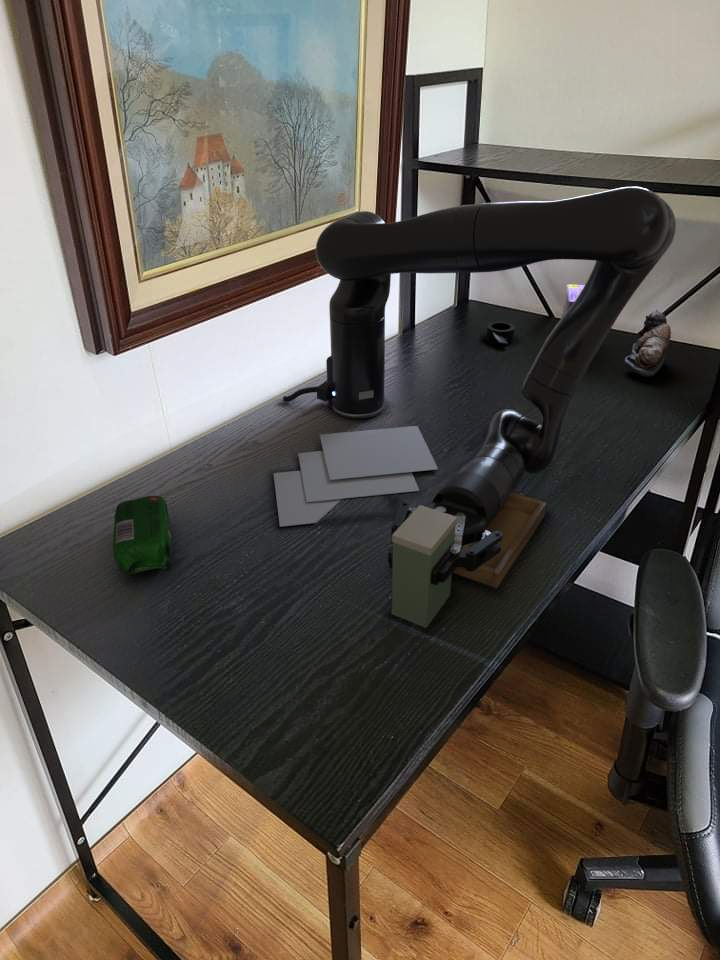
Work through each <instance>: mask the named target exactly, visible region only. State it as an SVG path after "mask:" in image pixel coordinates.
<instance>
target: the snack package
mask: <svg viewBox="0 0 720 960" xmlns="http://www.w3.org/2000/svg"><path fill="white" fill-rule="evenodd" d="M113 522H114V525H113V535H112V537H113V538H112V539H113V541H112V549H113V555H114V559H115V563H116V565H117V567H118V569H119V571H120V572H121V573H122V574H124V575H127V576H130V575H134V574H138V573H142V572H146V571H153V570H157V569H163V570H164V572H166V571H170V570H171V568H172V566H173V559H172V555H173V542H172V534H171V528H170V516H169V511H168V505H167V502H166V500H165V498H164V497H162V496H160V495H147V496H142V497H138V498H135V499H129V500H125V501H122V502H120V503H118V504H117V506H116V508H115V511H114V521H113Z"/></svg>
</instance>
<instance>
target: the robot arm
mask: <svg viewBox="0 0 720 960" xmlns="http://www.w3.org/2000/svg"><path fill="white" fill-rule="evenodd" d="M676 221H677V220H676V216H675V214H674V211H673V209H672V208H671V207H670V205H669V204H668V203H667V202H666V201H665V200H664V199H663V198H662V197H661V196H660V195H658V194H657V193H656V192H655V191H652V190H650V189H649V188H645V187H641V186H624V187H619V188H614V189H610V190H606V191H605V190H604V191H601V192H596V193H592V194H586V195H580V196H576V197H571V198H565V199H559V200H552V201H551V200H550V201H529V200H528V201H525V200H524V201H503V202H486V203H485V202H483V203H475V204H464V205H458V206H452V207H447V208H443V209H439V210H435V211H431V212H427V213H423V214H420V215H418V216H416V215H415V216H414V217H410V218H406V219H403V220H399V221H394V222H385V221H384V219H383V218H381V217H380V216H379V215H378V214H377V213H374V212H371V211H367V210H362V211H357V212H353V213H352V214H348V215H347V216H343V217H342V218H339V219H337V220H335V221H333V222H331V223H330V224H329V225H327V226H326V227H325V228H324V229H323V230H322V232H321V233H320V234H319V236H318V237H317V241H316V244H315V245H316V246H315V256H316V260H317V262H318V264H319V266H320V267H321V268H322V270H323V271H324V272H326V273H327V275H330V276H331V277H333V278H335V279H337V280H339V282H338V284H337V287H336V289H335V291H334V292H333V294H332V295H331V297H330V299H329V304H328V305H329V306H328V307H329V308H328V312H329V314H328V315H329V331H330V332H329V333H330V335H329V336H330V337H329V338H330V355H329V356H328V357H327V358H326V359H325V361H326V380H325V381H324V382H322V383H320V384H319V385H318V386H309V387H304V388H300V389H298V390H296V391H294V392H293V393H292V394H290V395H288V396H287V395H284V396H282V397H283V398H282V401H283V402H285V403H289V402H292V401H294V400H296V399H297V398H298V397H300V396H302V395H303V396H304V395H306V394H311V393H316V399H317V400H320V401H324V402H327V408H328V409H330V410H332V411H333V412H334V413H335V414H336V415H338V416H340V417H343V418H346V419H353V420H363V419H370V418H374V417H376V416H378V415H380V414H382V413H383V411H384V410H385V408H386V402H385V374H386V373H385V371H386V370H385V366H386V365H385V363H386V362H385V361H386V360H385V356H386V355H385V353H386V351H385V350H386V348H385V347H386V305H387V302H388V300H389V296H390V291H391V279H392V275H394V274H476V273H479V274H480V273H493V272H502V271H507V270H513V269H516V268H517V269H518V268H521V267H526V266H529V265H532V264H537V263H540V262H545V261H553V260H555V261H556V260H576V261H577V260H578V261H595V263H594V266H593V267H592V268H593V269H592V270H591V272H590V274H589V277H588V279H587V280H586V283H585V284H584V285H585V286H584V288H583V289H582V291H581V293H580V294H579V296H578V297H577V299H576V300H575V302H574V303H573V304H572V306H571V307H570V308H569V310H568V311H567V312H566V314H565V315H564V316H563V317H562V316H561V319H559V321H558V322H557V324H556V325H555V326H554V328H553V329H552V330H551V332H550V333H549V334H548V336H547V338H546V339H545V341H544V343H543V344H542V345H541V347H540V350H539V352H538V353H537V355H536V356H535V359H534V361H533V363H532V365H531V366H530V368H529V370H528V372H527V374H526V376H525V378H524V380H523V382H522V385H521V389H520V391H521V394H522V396H523V397H524V398H525V399H526V400H527V401H528V402H529V403H530V404H531V405H532V406H534V408H536V409H537V411H538V412H539V413H540V415H541V422H542V423H539V422H538V421H536V420H534V419H533V418H530V417H528V416H526V415H524V414H522V413H521V412H519V411H517V410H514V409H511V408H506V409H501V410H499V411H497V412H495V413H494V414H493V415H492V416H491V418H490V419H489V420H488V422H487V425H486V427H485V430H484V433H483V437H482V442H481V445H480V447H479V449H478V450H477V452H476V453H475V454H474V455H472V457H471V458H470V459H469V460H468V462H466V463H464V464H463V465H462V466H461V467H460V468H458V470H457V471H456V472H455V473H454V474H453V475H452V476H451V478H450V479H449V480H448V481H447V482H446V483H445V484H444V485H443V486H442V488H440V490H439V491H438V492H437V493H436V494H435V496H434V497H433V499H432V501H431V502H430V503H428V504H425V505H424V506H425V507H428V508H431V509H434V510H437V511H440V512H443V513H446V514H449V515H452V516H455V517H457V524H456V525H455V538H454V541H453V543H452V544H451V545H450V551H449V553H448V552H445V553H444V555H443V556H442V557H441V558H440V560H439V561H438V562H437V564H436V565H435V566H434V567H433V569H432V572H431V584H434V585H438V583H439V582H441V583H443V582H445V581H446V580H447V579H448V577H449V576H450V575H451V573H452V574H453V571H454V569H458V568H459V567H465V569H466V570H467V571H474V570H476V569H477V568H478V567H480V566H481V565H483V564H484V563H485V562H487V561H488V560H490V559H491V558H492V557H494V556H495V555H497V554H498V553H500V552H501V546H502V537H503V533H502V532H500V531H494V532H492V533H491V532H489V531H487V530H486V529H487V528H488V526H489V525H490V524H491V522H492V521H493V520H494V519H495V517H496V516H497V514H498V513H499V512H500V511H502V509H503V507H504V505H505V503H506V502H507V500H508V497H509V495H510V494H511V493H512V492H513V491H514V490H515V489H516V487H517V486H518V485H519V484H520V482H521V481H522V479H523V478H524V475H525V473H528V474H530V475H532V474H533V475H534V474H539V473H541V472H543V471H544V470H546V469H547V468H548V467H549V466H550V464H551V463H552V462H553V460H554V457H555V455H556V452H557V448H558V443H559V438H560V433H561V429H562V425H563V422H564V419H565V416H566V413H567V411H568V408H569V405H570V403H571V401H572V399H573V397H574V396H575V394H576V393H577V390H578V388H579V387H580V385H581V383H582V382H583V379H584V378H585V377H586V374H587V373H588V371H589V368H590V367H591V365H592V363H593V361H594V360H595V357H596V356H597V354H598V353H599V350H600V348H601V347H602V345H603V343H604V342H605V340H606V338H607V336H608V335H609V333H610V331H611V330H612V327H614V324H615V323H616V321H617V319H618V318H619V316H620V314H621V313H622V312H623V310H624V308H625V307H626V306H627V304H628V303H629V301H630V300H631V299H632V297H633V295H634V294H635V292H636V291H637V290H638V289H639V287H640V286H641V284H642V283H643V282H644V280H645V279H646V278H647V277H648V276H649V274H650V273H651V271H653V269H654V267H655V266H656V265H657V264H658V263H659V262H660V260H661V259H662V257H663V256H664V255H665V254H666V252H667V251H668V250H669V248H670V247H671V246H672V243H673V241H674V239H675V236H676V231H677V222H676ZM416 508H417V507H411V502H410V501H408V500H402V501H401V502H399V505H398V508H397V510H396V513H395V515H394V518H393V520H392V523H391V524H390V525H391V529H390V543H391V544H392V546H391V547H390V548H389V549H388V554H387V561H388V562H387V563H388V564H389V569H391V570H392V568H393V542H392V535H393V533H394V532H395V531H396V530H397V529H398V528H399V527H400V526H401V525H402V524H403V523H404V521H405V520H406V519H407V518H408V517H409V516H410V515H411V514H412V513H413V512H414V511H415V510H416ZM478 541H479V542H478ZM474 542H478V543H476V544H475V545H473V546H472V547H470V548H469V549H467V551H462V548H463V546H464V545H467V544H471V543H474Z"/></svg>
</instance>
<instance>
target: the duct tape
mask: <svg viewBox="0 0 720 960" xmlns="http://www.w3.org/2000/svg"><path fill="white" fill-rule="evenodd" d="M515 331H516V326H515V324H513V323H512V322H507V321H499V320H498V321H492V322H489V323H488V324H487V325H486V337H485V340H486V341H487V342H488V343H489V344H492V345H500V346H504V345H510V344H512V343H513V342H514V341H515V340H514V339H515Z"/></svg>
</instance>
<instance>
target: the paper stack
mask: <svg viewBox="0 0 720 960" xmlns="http://www.w3.org/2000/svg"><path fill="white" fill-rule="evenodd" d="M319 438H320V443H321V447H322V450H317V451H306V452H298V454H297V455H298V460H299V466H300V467H299V468H300V470H291V471H281V472H273V480H274V489H275V497H276V506H277V512H278V513H277V515H278V522H279V523H278V524H279V527H281V528H282V527H290V526H291V527H292V526H300V525H309V524H317V523H319V521H320V520H321V519H322V518H323V517H324V516H325V515H327V514H328V513H329V512H330V511H331V510H332V509H333V508H334V507H335V506H336V505H337V504H339V502H340V501H342V500H343V499H354V498H361V497H362V498H364V497H372V496H373V497H374V496H381V495H382V496H383V495H393V494H401V493H411V492H412V493H413V492H420V488H419V486H418V483H417V481H416V479H415V476H414V474H413V473H414V472H415V473H416V472H424V471H435V470H439V468H438V466H437V464H436V462H435V458H434V457H433V456H432V453H431V450H430V449H429V446H428V444H427V442H426V440H425V439H424V436H423V434H422V432H421V430H420V428H419V426H418V425H411V426H399V427H390V428H389V427H388V428H378V429H367V430H356V431H355V430H354V431H346V432H345V431H344V432H334V433H321V434H319Z"/></svg>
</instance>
